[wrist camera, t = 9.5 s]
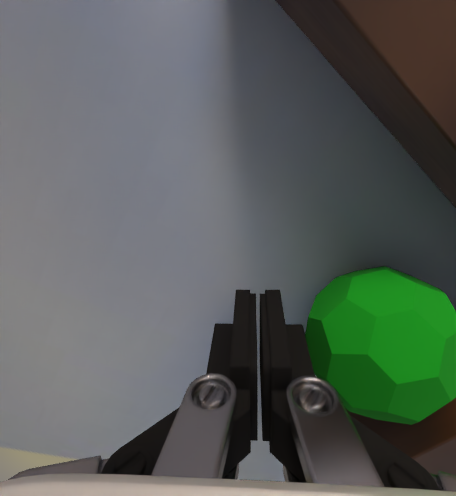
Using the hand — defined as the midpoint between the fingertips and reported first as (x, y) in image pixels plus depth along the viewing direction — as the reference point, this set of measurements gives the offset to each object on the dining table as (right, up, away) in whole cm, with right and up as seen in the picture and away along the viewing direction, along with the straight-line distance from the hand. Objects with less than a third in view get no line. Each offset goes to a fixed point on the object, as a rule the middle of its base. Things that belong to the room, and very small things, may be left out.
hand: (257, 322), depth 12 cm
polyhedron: (+4, +1, +1) cm, 4 cm away
